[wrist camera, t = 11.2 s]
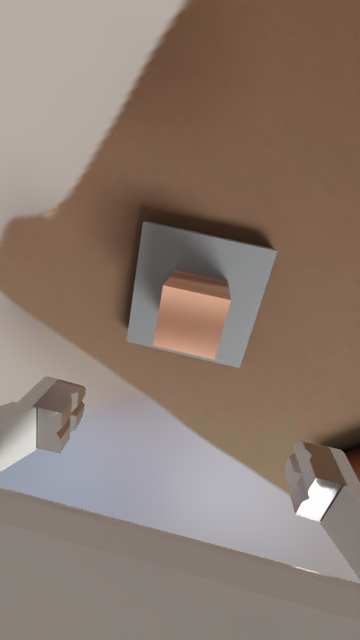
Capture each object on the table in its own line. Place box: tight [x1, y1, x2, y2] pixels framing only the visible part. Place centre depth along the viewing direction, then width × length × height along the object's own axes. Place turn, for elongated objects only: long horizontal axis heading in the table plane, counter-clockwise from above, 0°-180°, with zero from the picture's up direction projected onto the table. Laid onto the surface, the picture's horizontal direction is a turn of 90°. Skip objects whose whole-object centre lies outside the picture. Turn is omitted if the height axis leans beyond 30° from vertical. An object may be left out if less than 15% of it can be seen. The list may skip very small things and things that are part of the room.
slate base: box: [127, 221, 277, 368], centre depth 28 cm, size 12×12×2 cm
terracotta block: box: [153, 270, 231, 360], centre depth 24 cm, size 5×5×6 cm
